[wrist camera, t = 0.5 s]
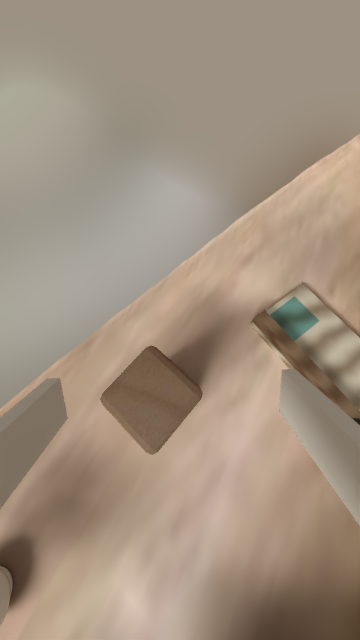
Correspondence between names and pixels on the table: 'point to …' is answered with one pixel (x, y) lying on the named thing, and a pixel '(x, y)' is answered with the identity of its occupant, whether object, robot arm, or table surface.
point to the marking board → (315, 346)
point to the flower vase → (5, 591)
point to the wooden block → (151, 399)
